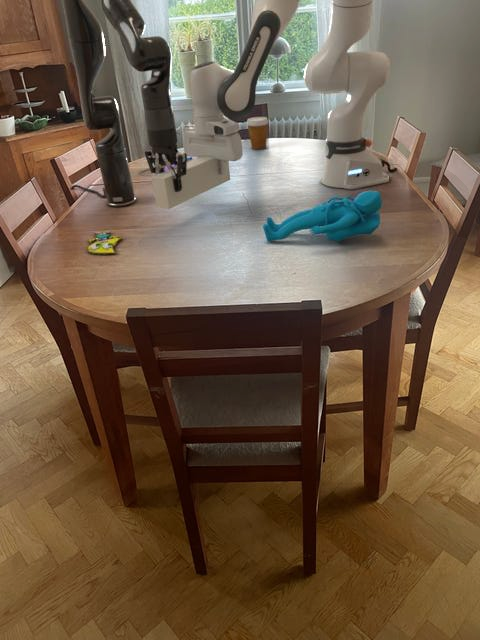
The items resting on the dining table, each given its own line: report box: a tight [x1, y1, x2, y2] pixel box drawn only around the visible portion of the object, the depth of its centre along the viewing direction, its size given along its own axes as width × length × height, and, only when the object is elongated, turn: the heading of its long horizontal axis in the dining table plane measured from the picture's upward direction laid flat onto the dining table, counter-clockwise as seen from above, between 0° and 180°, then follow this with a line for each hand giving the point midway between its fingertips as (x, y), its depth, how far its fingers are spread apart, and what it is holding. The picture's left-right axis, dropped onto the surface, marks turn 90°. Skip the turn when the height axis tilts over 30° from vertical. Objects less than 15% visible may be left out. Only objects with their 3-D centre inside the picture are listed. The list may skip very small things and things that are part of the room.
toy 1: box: [87, 230, 123, 255], centre depth 134 cm, size 10×1×15 cm
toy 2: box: [262, 190, 383, 243], centre depth 124 cm, size 17×11×30 cm
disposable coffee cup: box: [246, 116, 269, 150], centre depth 210 cm, size 10×10×12 cm
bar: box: [150, 156, 231, 210], centre depth 140 cm, size 28×5×8 cm, turn 144°
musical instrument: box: [138, 156, 193, 175], centre depth 196 cm, size 24×2×20 cm
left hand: (170, 189), depth 134 cm, fingers closed on bar, 5 cm apart
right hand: (214, 172), depth 147 cm, fingers closed on bar, 5 cm apart
